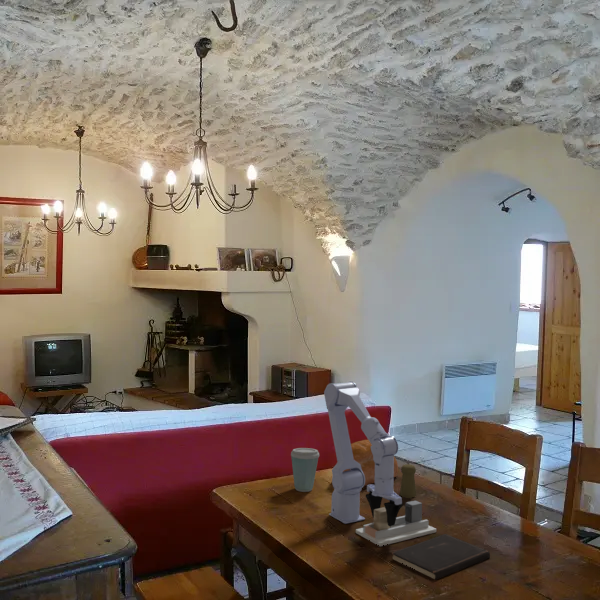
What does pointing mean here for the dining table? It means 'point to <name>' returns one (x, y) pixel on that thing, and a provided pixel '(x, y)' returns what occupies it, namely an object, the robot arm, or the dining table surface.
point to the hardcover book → (440, 556)
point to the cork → (408, 481)
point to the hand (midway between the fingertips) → (383, 521)
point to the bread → (367, 460)
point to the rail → (400, 527)
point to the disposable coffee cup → (304, 468)
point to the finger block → (380, 519)
